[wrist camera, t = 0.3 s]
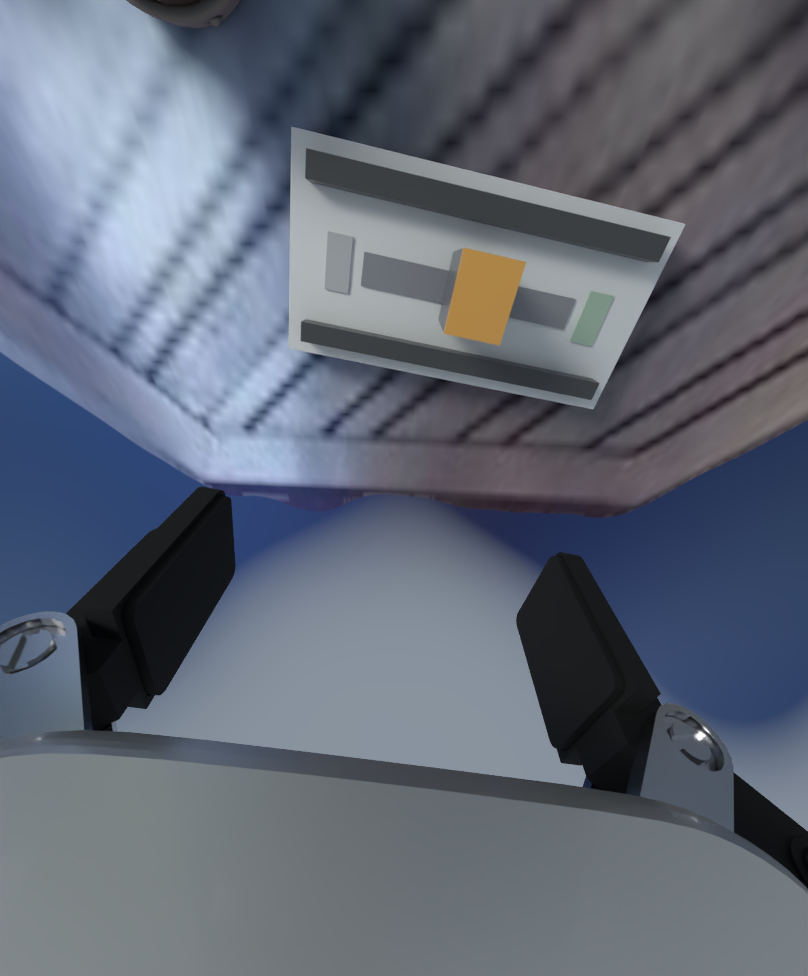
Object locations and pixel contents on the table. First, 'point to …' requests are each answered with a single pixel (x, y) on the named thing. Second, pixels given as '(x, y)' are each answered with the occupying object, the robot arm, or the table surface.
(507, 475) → the table surface
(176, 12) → the flowerpot
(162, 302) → the table surface
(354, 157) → the breaker panel
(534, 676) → the robot arm
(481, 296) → the block
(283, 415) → the table surface
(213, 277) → the table surface
